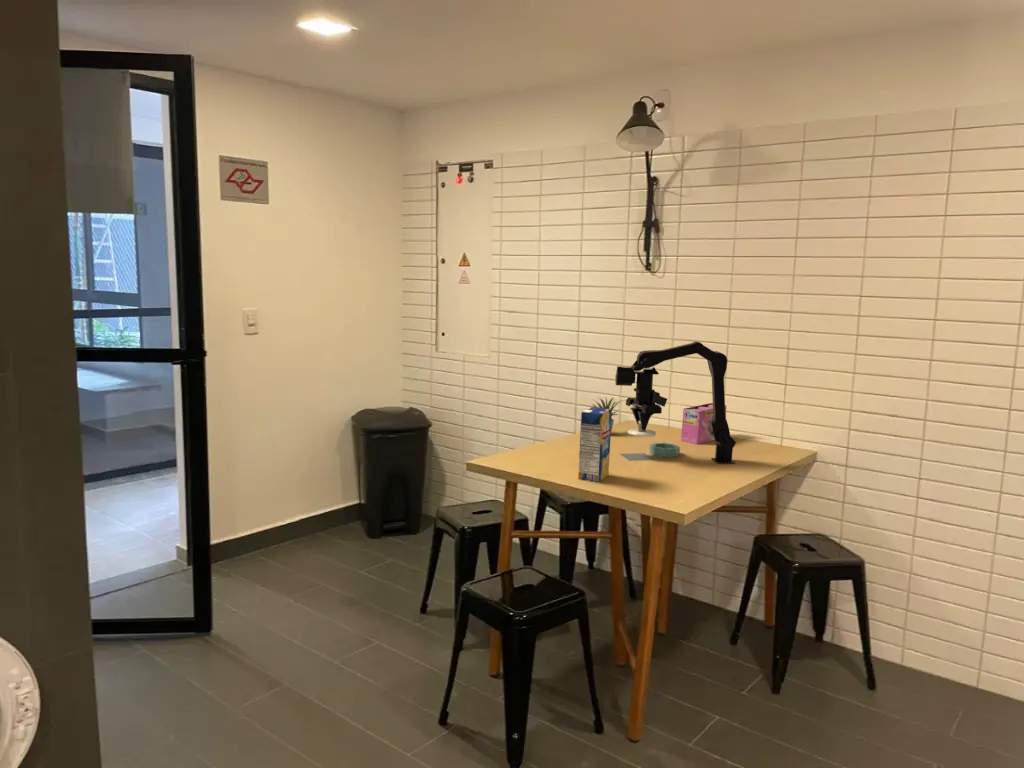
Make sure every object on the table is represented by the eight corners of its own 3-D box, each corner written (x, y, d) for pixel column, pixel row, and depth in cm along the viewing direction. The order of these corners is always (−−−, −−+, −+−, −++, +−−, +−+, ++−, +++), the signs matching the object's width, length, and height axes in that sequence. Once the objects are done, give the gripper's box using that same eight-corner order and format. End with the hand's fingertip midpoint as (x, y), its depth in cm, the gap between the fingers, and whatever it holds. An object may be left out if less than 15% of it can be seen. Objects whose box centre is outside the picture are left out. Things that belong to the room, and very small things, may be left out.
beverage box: (578, 479, 244) (581, 411, 241) (588, 471, 254) (592, 406, 251) (598, 482, 242) (602, 414, 238) (608, 474, 252) (612, 409, 248)
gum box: (710, 433, 325) (712, 402, 323) (727, 437, 320) (729, 405, 318) (680, 441, 308) (682, 408, 306) (697, 444, 302) (700, 411, 300)
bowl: (682, 458, 278) (683, 448, 278) (657, 459, 276) (658, 449, 275) (670, 451, 288) (671, 442, 287) (646, 452, 285) (646, 443, 285)
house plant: (620, 431, 324) (623, 393, 321) (627, 438, 310) (630, 398, 308) (587, 430, 323) (589, 392, 320) (593, 437, 309) (595, 397, 307)
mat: (655, 461, 272) (655, 459, 272) (629, 461, 270) (629, 460, 270) (644, 454, 282) (644, 453, 282) (619, 455, 280) (619, 453, 279)
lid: (660, 436, 272) (661, 423, 271) (634, 436, 269) (634, 423, 268) (648, 430, 281) (649, 417, 280) (623, 431, 279) (624, 418, 278)
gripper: (676, 389, 266) (674, 433, 268) (654, 382, 284) (652, 423, 286) (647, 390, 263) (644, 434, 265) (626, 382, 281) (624, 424, 283)
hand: (642, 429), depth 275 cm, fingers closed on lid, 3 cm apart
